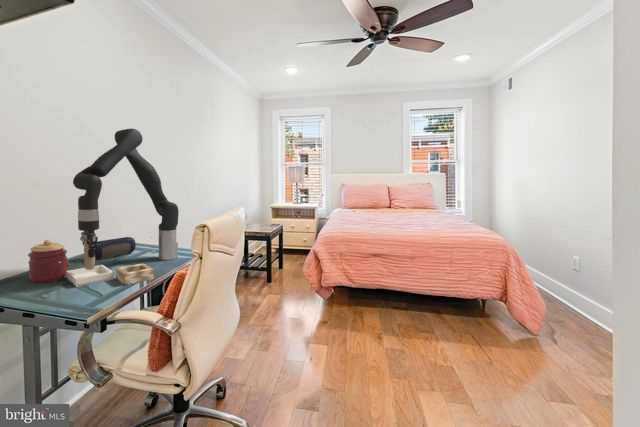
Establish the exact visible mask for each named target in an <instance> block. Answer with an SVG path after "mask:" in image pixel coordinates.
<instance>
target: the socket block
mask: <svg viewBox="0 0 640 427" xmlns="http://www.w3.org/2000/svg"><path fill="white" fill-rule="evenodd" d="M154 270H155V269H154V268H153V267H151V266H149V265H148V264H145V263H137V264H133V265H127V266H121V267H116V268H115V279H116V280H118V281H119V282H120V283H121V284H123V285H124V284H125V285H124V286H127V285H126V284H129V285H133V284H137V283H141V282H146V281H150V280H154V277H155V276H154V274H155V273H154V272H155V271H154ZM130 283H132V284H130Z"/></svg>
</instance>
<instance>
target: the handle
mask: <svg viewBox="0 0 640 427" xmlns="http://www.w3.org/2000/svg"><path fill="white" fill-rule="evenodd" d="M79 240H80V241H81V242H82V241H83V242H84V244H85V247H84V246H83V264H84V266H85V267H84V268H85V269H87V270H92V269H94V267H95V266H96V265H95V263H96V260H95V257H91V258H89V257H88V245H87V244H86V238H85V237H82V236H80V237H79ZM87 240H88V238H87ZM97 241H99V240H98V239H97ZM88 242H89V243H90V240H88ZM92 246H93V245H92Z"/></svg>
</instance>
